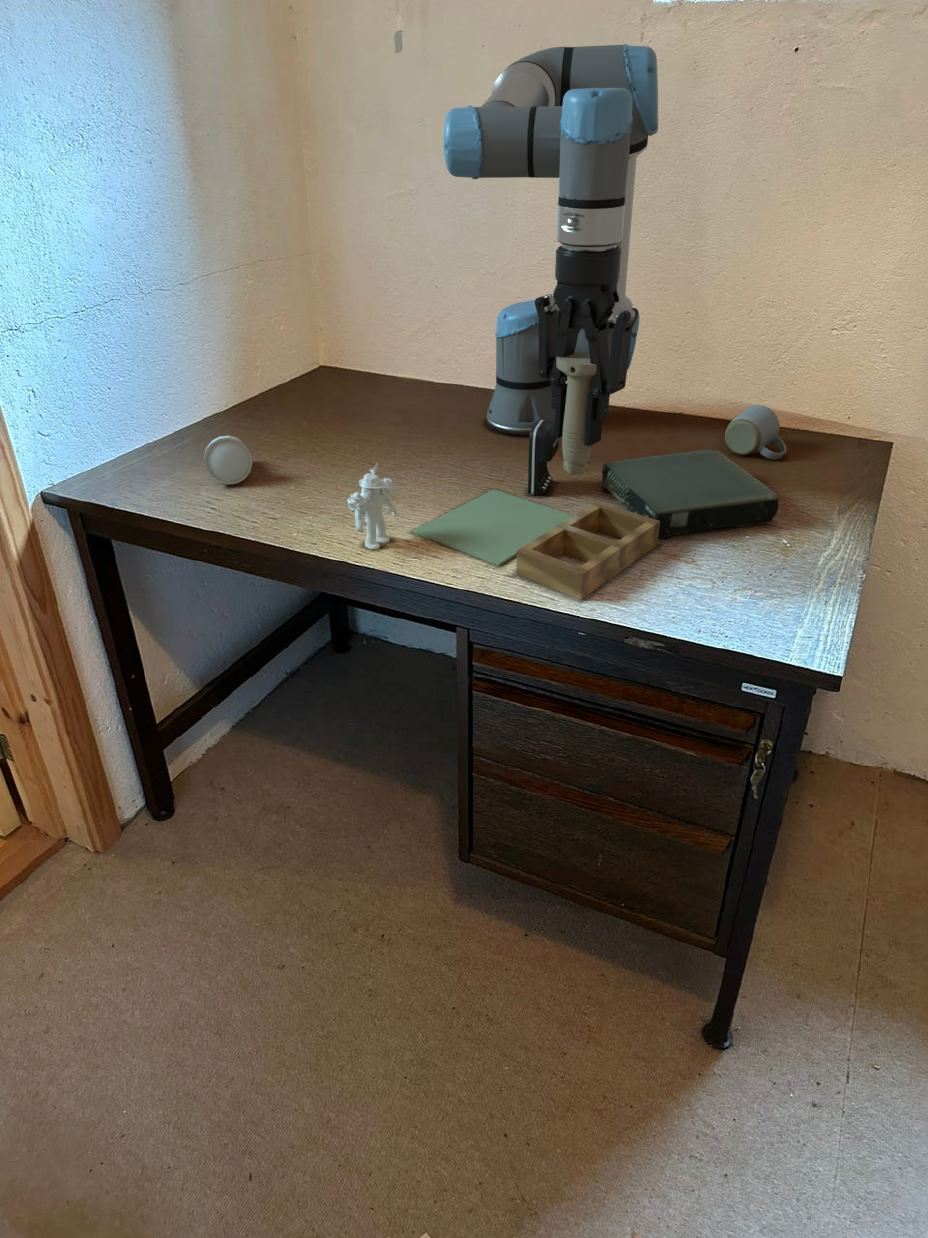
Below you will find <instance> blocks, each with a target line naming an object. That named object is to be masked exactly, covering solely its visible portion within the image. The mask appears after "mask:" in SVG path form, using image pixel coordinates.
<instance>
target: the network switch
mask: <svg viewBox="0 0 928 1238" xmlns="http://www.w3.org/2000/svg"><path fill="white" fill-rule="evenodd" d="M601 474H602V477H601V486H602V487H603V488H604V489H605V490H607V491H608V492H610V493H611V495H612V496H613V497H614V498H615V499H617V501H618V502H619V503H620V504H621V505H622V506H624V508H626V509H627V511H629V512H633V513H636V514H639V515H642V516H645V517H649V518H652V519H655V520H658V521H660V527H659V535H658V539H659V538H661V539H662V538H667V537H671V536H676V535H681V534H687V533H695V532H701V531H702V532H703V531H708V530H713V529H721V528H727V527H735V528H740V527H746V526H753V525H760V524H761V525H762V524H767V525H769V524H773V519H774V518H775V517H776V515H777V514H778V510H779V503H780V501H779V497H778V496H777V493H776V492H774V491H773V490H772V489H771V488H769V487H768V486H767V485H765V484H764V483H763V482H762V481H760V480H758V479H757V478H756V477H754V476H753V475H752V474H751V473H750V472H748V471H746V470H745V469H744V468H742V466H740V465H738V464H737V463H735V462H734V461H733V460H732V459H730V458H729V457H727V456H726V455H725V454H723V453H722V452H720V451H718V450H714V449H710V448H707V449H699V450H691V451H686V452H677V453H668V454H662V455H653V456H644V457H638V458H629V459H623V460H622V459H621V460H614V461H608V462H605V463H604V464H603V466H602V472H601Z"/></svg>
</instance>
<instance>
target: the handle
mask: <svg viewBox="0 0 928 1238" xmlns="http://www.w3.org/2000/svg"><path fill="white" fill-rule="evenodd" d="M556 366H557V368H558V369H559V370H561V371H562V372H563V373H565V374H566V375H567V381H566V383H567V395H566V405H565V413H564V422H563V434H562V437H561V438H562V439H561V442H562V447H561V448H562V458H563V461H562V468H563V471H564V472H567V474H568V475H570V476H575V475H580V476H582V475H584V474H585V473H587V472H588V471H589V466H590V462H589V461H590V458H591V454H592V449H593V445H591V446H586V445H585V430H586V414H587V398H588V395H589V394H590V393H592V392H594V391H593V382H592V376H594V375H596V371H597V365H595V364H591V363H590V353H584V352H574V354H571V355H569V356H566V357H564V358H562V357H558V356H557V361H556Z"/></svg>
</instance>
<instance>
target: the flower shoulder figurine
mask: <svg viewBox="0 0 928 1238" xmlns="http://www.w3.org/2000/svg"><path fill="white" fill-rule="evenodd" d="M378 464H379V462H378V461H377V462H376V464H375V465H374V467H373V468H370V469H369V472H370V473H369V472H368V473H367V472H366V473H365V474H364V475H363V478H360V479H359V481H358V485H359V487H360V488H361V490H360V491H361V492H360V491H355V492H354V493H353V494H350V497H348V498H347V499H346V502H347V505H348V509H349V510H350V511H351V512H353V513H354V519H355V529H356V530H357V532H359V533H360V534H361V533H364V532H365V529H366V533H367V534H366V535H365V536H366V537H365V541H364V546H365V548H368V549H370V550H378V549H380V548H381V544H387V543H389V542H390V541H391V539H390V537H389V536H388V535H386V530H387V529H386V528H387V527H386V523H385V518H384V515H383V505H385V506H386V510H388V514H389V515H392V516H393V517H396V516H397V514H398V513H397V512H398V511H397V509H396V507H395V506H394V504H393V502H392V501H391V500H390V498H389V497H388V496H387V494H388V495H389V496H390V497H394V495H395V494H396V492H397V487H396V486H394V485H393V484H394V482H393V481H392V479H391V478H389V477H383V479H381V478H379V476H378V475H377V470H378V469H379V468H378V467H379V465H378ZM390 492H392V493H390ZM386 493H387V494H386ZM352 507H355V508H352ZM363 517H364V518H365V519H363ZM364 525H365V529H364ZM380 543H381V544H380Z"/></svg>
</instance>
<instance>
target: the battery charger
mask: <svg viewBox="0 0 928 1238" xmlns="http://www.w3.org/2000/svg"><path fill="white" fill-rule="evenodd" d="M554 433H555V422H552V421H544V420H538V421H537V422H536V423H535V425H534V426H533V428H532V429H531V432H530V436H528V439H529V440H528V467H527V469H528V470H527V471H528V472H527V473H528V475H527V476H528V477H527V494H528V495H529V494H530V495H538V496H542V495H543V496H544V495H546V494H547V493H548V492H549V490H550V489H551V487H552V485H553V482H554V478H552V476H551V474H550V472H549V469H548V463H549V462H551V461H552V460H553V458H554V457H555V455H556V453H557V452H558V451H559V447H560V438H557V437H554Z"/></svg>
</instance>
